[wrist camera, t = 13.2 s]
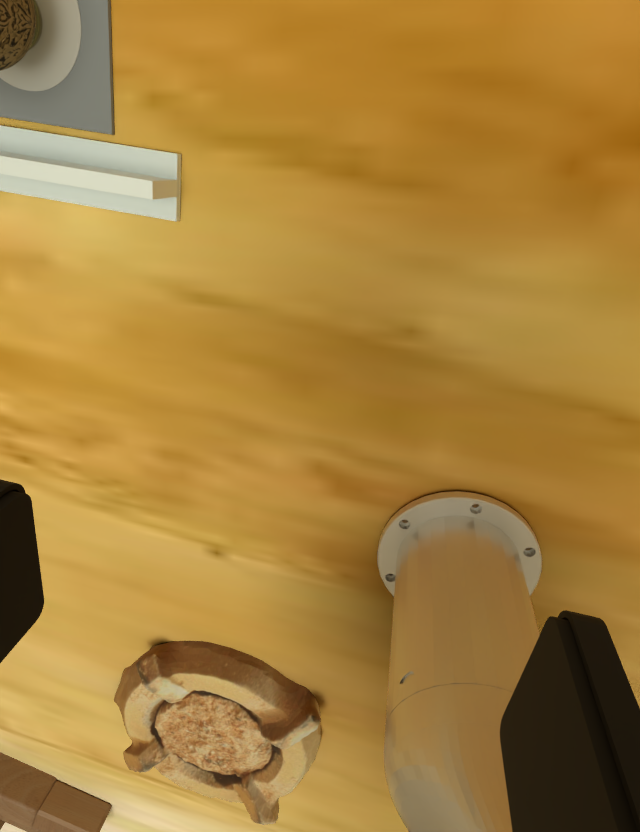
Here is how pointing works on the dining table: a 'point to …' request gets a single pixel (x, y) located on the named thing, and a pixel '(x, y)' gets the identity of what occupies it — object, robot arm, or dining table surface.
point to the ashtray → (219, 724)
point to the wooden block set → (45, 801)
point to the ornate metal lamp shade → (18, 30)
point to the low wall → (90, 172)
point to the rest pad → (65, 70)
